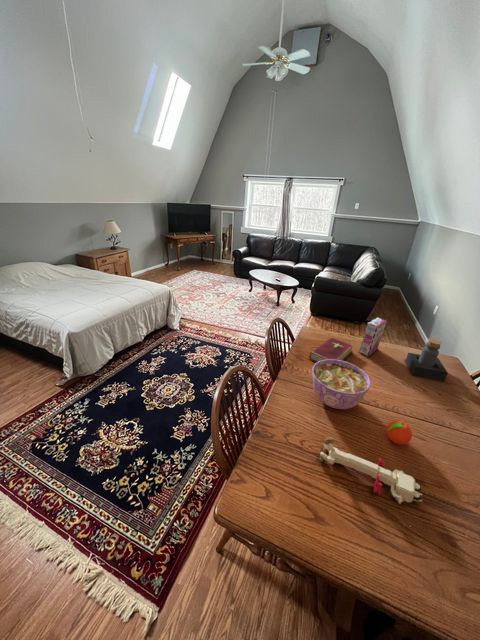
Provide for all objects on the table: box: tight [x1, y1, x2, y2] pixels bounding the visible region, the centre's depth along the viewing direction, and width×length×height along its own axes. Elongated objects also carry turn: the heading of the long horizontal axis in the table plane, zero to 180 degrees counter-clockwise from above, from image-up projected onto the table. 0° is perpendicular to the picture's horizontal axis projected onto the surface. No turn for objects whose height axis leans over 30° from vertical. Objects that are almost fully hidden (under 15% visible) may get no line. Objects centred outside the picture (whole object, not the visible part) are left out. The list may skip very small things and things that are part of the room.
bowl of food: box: [311, 359, 372, 410], centre depth 98 cm, size 20×20×12 cm
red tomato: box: [385, 420, 413, 446], centre depth 83 cm, size 8×7×7 cm
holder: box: [405, 352, 449, 382], centre depth 119 cm, size 12×12×4 cm
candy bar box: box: [358, 317, 387, 357], centre depth 130 cm, size 11×5×16 cm, turn 133°
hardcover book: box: [309, 336, 355, 363], centre depth 127 cm, size 12×21×4 cm, turn 137°
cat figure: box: [318, 436, 423, 505], centre depth 71 cm, size 10×9×25 cm
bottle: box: [418, 337, 442, 367], centre depth 117 cm, size 6×6×15 cm
